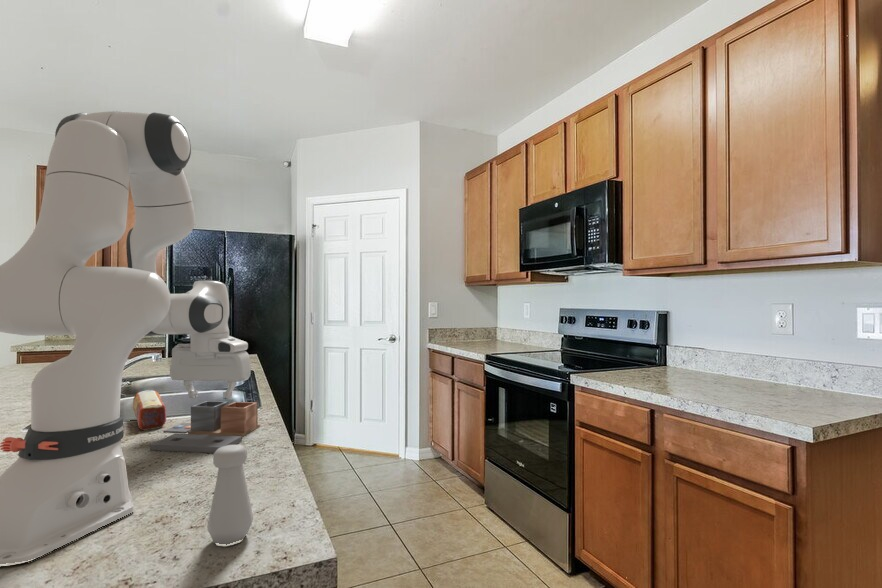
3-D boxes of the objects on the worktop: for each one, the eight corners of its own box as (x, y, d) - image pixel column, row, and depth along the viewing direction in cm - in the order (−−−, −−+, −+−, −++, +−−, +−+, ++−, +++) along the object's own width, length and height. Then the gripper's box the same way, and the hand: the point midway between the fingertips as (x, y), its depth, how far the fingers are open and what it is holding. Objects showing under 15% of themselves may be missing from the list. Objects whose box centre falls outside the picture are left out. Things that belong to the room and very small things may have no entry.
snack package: (167, 427, 118) (167, 402, 118) (136, 432, 114) (137, 405, 114) (159, 411, 135) (159, 388, 135) (132, 414, 131) (132, 391, 131)
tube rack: (242, 436, 110) (242, 409, 110) (187, 434, 112) (187, 407, 112) (259, 426, 118) (259, 401, 118) (208, 425, 120) (208, 400, 120)
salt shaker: (259, 528, 67) (259, 440, 67) (243, 550, 61) (243, 454, 61) (218, 529, 67) (218, 440, 67) (199, 551, 61) (199, 454, 61)
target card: (185, 432, 113) (185, 431, 113) (163, 431, 114) (163, 430, 114) (203, 424, 120) (203, 423, 120) (182, 424, 121) (182, 422, 121)
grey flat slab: (221, 453, 99) (221, 447, 99) (149, 449, 101) (149, 444, 101) (241, 441, 107) (241, 436, 107) (175, 438, 108) (175, 433, 108)
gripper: (163, 344, 114) (163, 399, 114) (240, 345, 111) (240, 402, 111) (180, 342, 120) (180, 394, 120) (253, 343, 117) (253, 396, 117)
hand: (210, 398), depth 115 cm, fingers open, 8 cm apart
